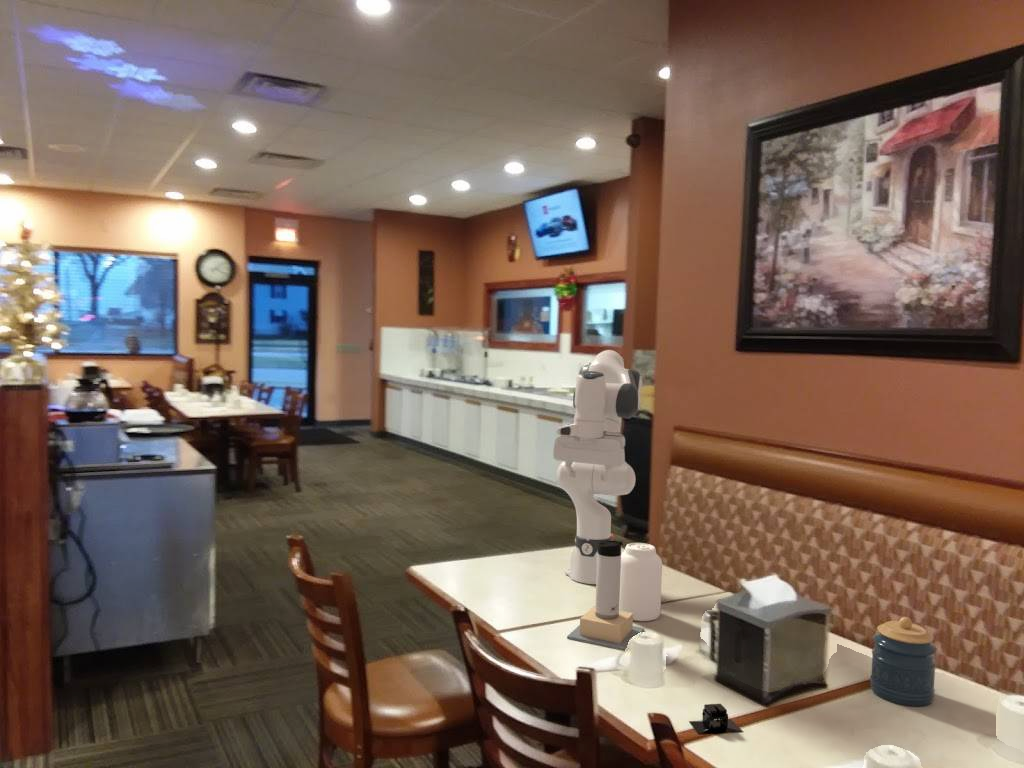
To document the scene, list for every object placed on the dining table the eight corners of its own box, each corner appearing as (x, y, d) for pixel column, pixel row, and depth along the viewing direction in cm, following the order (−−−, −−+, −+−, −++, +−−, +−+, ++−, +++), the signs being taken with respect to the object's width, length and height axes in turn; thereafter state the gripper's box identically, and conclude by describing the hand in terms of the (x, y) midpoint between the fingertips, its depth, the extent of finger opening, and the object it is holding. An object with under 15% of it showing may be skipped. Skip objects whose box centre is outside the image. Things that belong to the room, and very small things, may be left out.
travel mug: (619, 620, 200) (622, 545, 198) (594, 618, 201) (596, 543, 200) (620, 612, 206) (623, 539, 205) (596, 610, 207) (598, 537, 206)
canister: (860, 680, 180) (864, 606, 179) (916, 682, 179) (920, 608, 178) (885, 706, 167) (890, 627, 166) (945, 709, 166) (950, 629, 165)
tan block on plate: (588, 619, 214) (589, 601, 214) (644, 630, 207) (644, 611, 207) (567, 638, 200) (567, 619, 199) (626, 650, 193) (626, 631, 192)
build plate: (692, 740, 151) (693, 717, 151) (678, 722, 158) (679, 700, 158) (751, 736, 153) (752, 713, 153) (734, 718, 160) (735, 696, 160)
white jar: (668, 614, 220) (671, 546, 218) (644, 625, 210) (647, 554, 209) (632, 603, 228) (634, 537, 227) (607, 613, 219) (609, 544, 218)
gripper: (629, 431, 211) (627, 481, 212) (560, 426, 220) (558, 474, 221) (621, 434, 206) (620, 485, 206) (551, 428, 214) (550, 477, 215)
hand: (587, 479), depth 214 cm, fingers open, 8 cm apart
